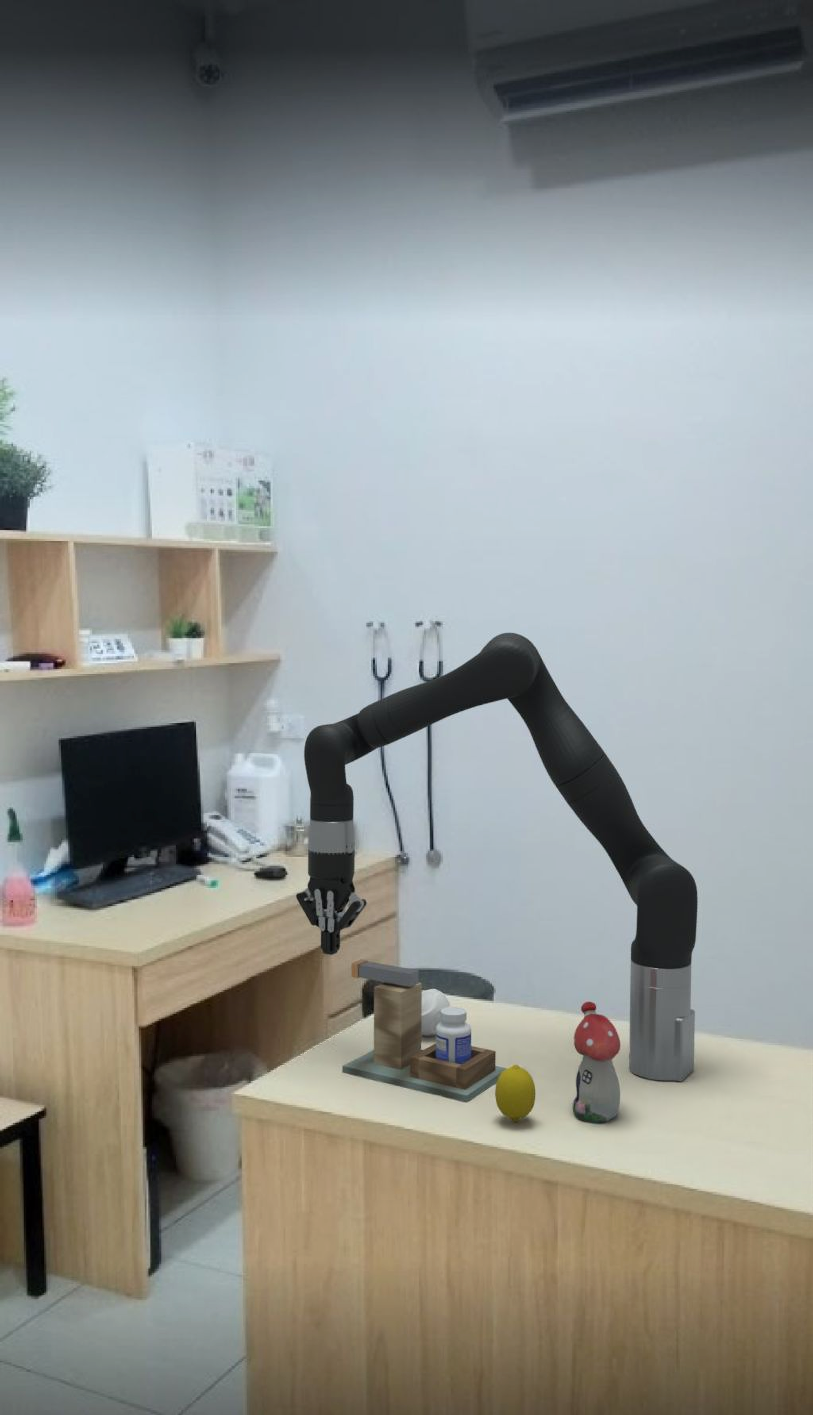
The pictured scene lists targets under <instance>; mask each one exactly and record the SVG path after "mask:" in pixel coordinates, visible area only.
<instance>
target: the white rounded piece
mask: <svg viewBox="0 0 813 1415" xmlns="http://www.w3.org/2000/svg"><path fill="white" fill-rule="evenodd" d="M445 1007H451V1004H450V1001H449V999H448V998H447V996H446V995H445V994H444V993H443V992H442V991H440V990H438V989H436V988H429V989H426V990H422V1024H421V1037H422V1036H423V1037H431V1036H436V1026H437V1025H438V1024H439V1023H440V1022H442V1021H441V1020H440V1011H441V1009H443V1008H445Z"/></svg>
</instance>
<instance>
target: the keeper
mask: <svg viewBox="0 0 813 1415" xmlns="http://www.w3.org/2000/svg"><path fill="white" fill-rule="evenodd" d="M419 973H420V970H419V969H412V968H409V967H401V966H397V965H391V964H384V963H380V962H378V963H377V962H373V961H369V960H366V959H359V960H356V961H354V962H351V978H354V979H355V978H356V979H366V980H371V981H377V982H381V983H385V982H386V983H392V984H397V985H403V986H408V987H411V986H413V985H416V984H418V983H420V979H419V978H420V974H419Z"/></svg>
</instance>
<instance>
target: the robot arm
mask: <svg viewBox="0 0 813 1415" xmlns="http://www.w3.org/2000/svg"><path fill="white" fill-rule="evenodd" d="M502 700H508V701H509V703H510V704H511V705H512V707H513V708H514V709H515V711H517V713H518V714H519V716H520V717H521V719H522V720H523V722H524V724H525V725H526V727H527V729H528V732H529V734H530V736H531V739H532V740H533V743H534V746H535V749H536V750H537V753H538V756H539V758H540V761H541V762H542V764H543V767H544V769H545V771H546V773H547V775H548V777H549V778H550V780H551V782H552V783H553V785H554V787H556V789H557V791H558V792H559V793H560V795H561V796H562V797H563V798H562V799H564V800H565V802H566V803H567V805H568V806H569V808H570V809H571V810H572V811H573V813H574V814H575V816H576V817H577V818H578V819H579V821H580V822H581V823H582V825H584V827H585V828H586V829H587V830H588V831H589V833H590V834H591V835H593V837H594V838H595V839H596V840H597V842H598V843H599V844H600V845H601V847H602V848H603V849H604V851H605V852H606V854H607V856H608V857H609V859H610V861H611V863H612V864H613V865H614V868H615V869H616V871H617V873H618V875H619V877H620V879H621V880H622V883H623V885H624V888H626V890H627V893H628V895H629V896H630V898H631V901H633V903H634V904H635V905H636V932H635V937H634V939H633V941H632V942H631V944H630V976H629V977H630V978H629V980H630V982H629V984H630V985H629V986H630V990H629V992H630V994H629V1044H628V1045H629V1047H628V1048H629V1052H628V1060H629V1062H628V1068H629V1070H630V1071H631V1073H633V1074H635V1075H637V1076H638V1077H641V1078H645V1079H649V1080H656V1081H676V1082H683V1081H684V1080H685V1079H686V1078H687V1077H688V1076H689V1075H690V1074H691V1073H692V1072H693V1071H695V1070H694V1069H695V1034H696V1033H695V1031H696V1030H695V1029H696V1028H695V1027H696V1026H695V1025H696V1024H695V1022H696V1017H695V1016H696V1011H695V1010H694V1009H691V1007H692V1006H691V1005H692V1004H691V1001H692V997H691V995H692V955H693V951H694V949H695V947H696V946H695V945H696V942H697V923H698V906H699V905H698V902H699V900H698V888H697V884H696V881H695V880H696V879H695V878H694V876H693V875H692V873H691V872H690V871H689V870H688V869H687V868H686V867H684V866H683V865H681V864H680V863H679V862H676V861H675V860H674V859H672V858H671V857H670V856H669V855H668V853H666V851H665V850H664V849H663V848H662V847H661V845H659V843H658V842H657V840H656V839H655V838H654V837H653V835H652V834H651V833H650V832H649V831H648V828H646V826H645V824H643V822H642V820H641V818H640V816H639V814H638V811H637V810H636V807H635V805H634V803H633V800H632V796H631V795H630V793H629V790H628V788H627V786H626V784H625V782H624V780H623V779H622V777H621V775H620V773H619V771H618V770H617V769H616V767H615V765H614V764H613V762H612V761H611V759H610V758H609V757H608V755H607V754H606V752H605V751H604V749H603V748H602V747H601V745H600V744H599V743H598V741H597V740H596V739H595V737H594V736H593V735H592V733H591V731H590V730H589V729H588V727H587V726H586V725H585V724H584V722H583V721H582V720H581V719H580V717H579V716H578V715H577V714H576V712H575V711H574V709H572V707H571V706H570V705H569V703H568V702H567V701H566V699H565V697H564V696H563V694H562V693H561V691H560V690H559V687H558V686H557V685H556V682H555V681H554V679H553V677H552V675H551V673H550V672H549V670H548V668H547V666H546V664H545V662H544V660H543V659H542V656H541V654H540V653H539V650H538V648H537V647H536V645H534V643H533V642H532V641H531V640H530V639H529V638H527V637H525V636H524V635H521V634H520V633H515V632H504V633H500V634H497V635H496V636H494V637H492V638H491V639H490V640H489V641H488V642H487V643H486V644H485V645H484V647H483V648H482V649H481V650H480V652H479V653H478V654H476V655H474V656H472V658H471V659H468V660H467V661H466V662H463V664H461V665H460V666H458V667H457V668H455V669H453V670H450V671H449V672H447V673H446V674H444V675H441V676H439V677H437V678H434V679H431V680H428V681H425V682H423V683H419V684H415V685H413V686H410V687H407V688H404V689H402V690H399V691H397V692H394V693H392V694H390V695H388V696H386V697H382V698H381V699H378V700H377V701H375V702H372V703H370V704H368V705H366V706H365V707H363V708H362V709H361V710H360V711H359V712H358V713H355V714H354V715H351V716H349V717H347V718H345V719H342V720H340V721H337V722H334V723H328V724H321V725H318V726H316V727H314V728H312V729H311V730H310V732H309V733H308V735H307V736H306V738H305V739H306V740H305V744H304V751H303V758H304V767H305V771H306V772H305V773H306V778H307V784H308V786H309V790H310V791H309V792H310V798H309V799H310V800H309V810H310V811H309V827H308V835H307V836H308V838H307V839H308V840H307V842H308V843H307V874H308V876H309V880H308V883H307V888H305V889H304V890H303V891H301V892H297V893H296V895H295V897H296V899H297V901H298V903H299V905H300V907H301V910H302V911H303V912H304V914H305V917H307V919H308V922H309V923H310V925H311V926H316V927H318V929H319V931H320V949H321V950H322V953H323V954H324V955H329V956H332V955H335V954H337V953H338V952H339V950H340V949H341V931H342V930H344V929H347V928H351V926H352V925H353V923H355V921H356V919H358V918H359V915H361V913H362V911H363V910H364V909H365V907H366V906H367V904H368V902H367V900H366V899H364V898H360V897H359V896H358V894H356V887H355V885H354V880H353V879H354V876H355V870H356V869H355V863H356V861H355V859H356V858H355V857H356V856H355V854H356V852H355V851H356V849H355V846H356V842H355V840H356V839H355V838H356V832H355V824H354V823H355V822H354V811H355V810H354V809H355V808H354V800H355V798H354V790H353V787H352V786H351V785H350V784H348V783H347V774H346V772H347V771H346V765H349V764H350V763H353V762H356V761H357V760H359V759H361V758H363V757H365V756H366V755H368V754H370V753H372V752H373V751H375V750H377V749H378V748H382V747H384V746H385V747H386V746H388V745H391V744H392V743H395V742H397V741H400V740H402V739H403V738H406V737H408V736H410V735H412V734H415V733H417V732H419V731H421V730H423V729H425V728H427V727H429V726H432V725H434V724H435V723H437V722H440V721H442V720H445V719H446V718H449V717H451V716H453V715H455V714H458V713H462V712H464V711H468V710H469V709H472V708H476V707H480V706H483V705H487V704H491V703H496V702H498V701H502ZM346 906H347V910H346Z"/></svg>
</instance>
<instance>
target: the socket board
mask: <svg viewBox="0 0 813 1415" xmlns="http://www.w3.org/2000/svg"><path fill="white" fill-rule="evenodd" d="M422 988H423V983H422V982H419V983H418V984H416V985H413V986H411V987H408V986H403V985H397V984H392V983H386V982H382V983H381V984H378V985H375V986H374V988H373V1049H372V1050H370V1051H368V1052H367V1053H365V1054H363V1055H361V1056H359V1057H357V1058H355V1059H353V1060H350V1061H349V1062H347V1063H345V1064H344V1065H342V1071H341V1072H342V1073H344V1074H349V1075H353V1076H356V1077H362V1078H364V1079H369V1080H373V1081H376V1082H382V1083H385V1084H390V1085H394V1086H398V1087H402V1088H406V1089H411V1090H414V1091H420V1092H423V1093H426V1094H431V1095H436V1096H439V1097H444V1098H448V1099H452V1100H456V1101H460V1102H464V1103H468V1102H469V1101H471V1100H472V1099H475V1097H477V1096H478V1095H480V1094H482V1093H483V1092H484V1091H486V1090H487V1089H489V1088H490V1087H492V1086H494V1085H496V1084H497V1080H498V1078H499V1076H500V1074H501V1073H502V1072H503V1071H504V1070H505V1069H507V1068H508V1067H502V1066H497V1065H496V1064H497V1063H496V1062H497V1061H496V1058H497V1057H496V1056H497V1055H496V1054H497V1053H496V1050H493V1049H488V1048H483V1047H479V1046H474V1045H471V1059H470V1060H468V1061H467V1062H465V1063H463V1064H462V1065H461V1064H457V1063H452V1062H448V1061H443V1060H439V1059H436V1042H435V1043H434V1044H431V1045H430V1046H428V1047H426V1048H424V1049H422V1035H421V1024H422V992H423V990H422Z"/></svg>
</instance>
